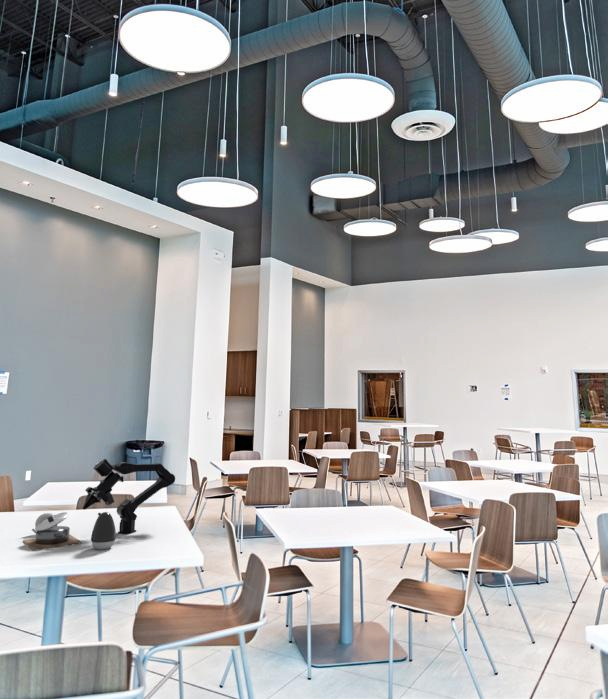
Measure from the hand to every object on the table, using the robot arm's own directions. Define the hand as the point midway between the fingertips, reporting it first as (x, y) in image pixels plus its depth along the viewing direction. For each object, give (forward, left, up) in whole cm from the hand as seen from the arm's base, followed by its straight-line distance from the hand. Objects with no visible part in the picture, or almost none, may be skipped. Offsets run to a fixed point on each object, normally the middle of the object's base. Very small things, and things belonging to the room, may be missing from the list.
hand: (83, 508), depth 239 cm
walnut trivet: (+7, +10, -13) cm, 18 cm away
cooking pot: (+7, +10, -13) cm, 18 cm away
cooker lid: (+8, +11, -5) cm, 15 cm away
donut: (+22, -3, -14) cm, 26 cm away
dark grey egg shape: (-21, +12, -14) cm, 28 cm away
